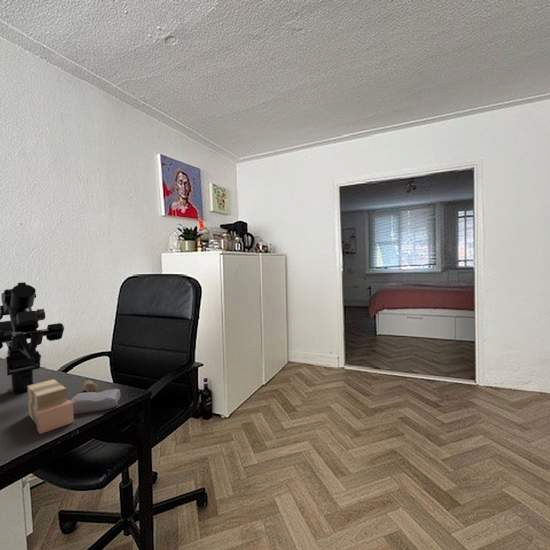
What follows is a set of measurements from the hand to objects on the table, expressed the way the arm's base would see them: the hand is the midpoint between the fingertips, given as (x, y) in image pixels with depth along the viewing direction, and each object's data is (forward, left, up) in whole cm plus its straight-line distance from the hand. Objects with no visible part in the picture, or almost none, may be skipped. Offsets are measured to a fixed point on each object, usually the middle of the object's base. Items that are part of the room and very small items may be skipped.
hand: (32, 358), depth 91 cm
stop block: (+23, -4, -13) cm, 27 cm away
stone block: (+19, +8, -14) cm, 25 cm away
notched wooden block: (+15, -3, -13) cm, 20 cm away
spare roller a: (+7, +11, -12) cm, 18 cm away
